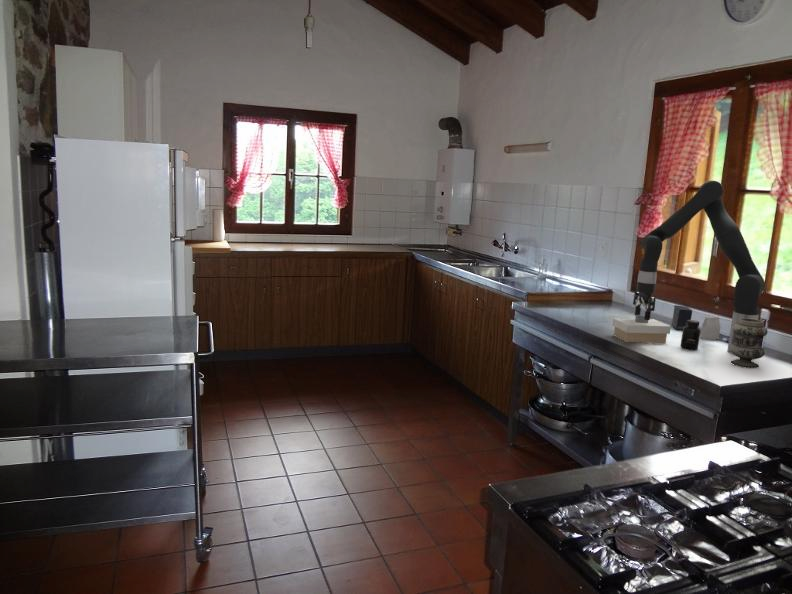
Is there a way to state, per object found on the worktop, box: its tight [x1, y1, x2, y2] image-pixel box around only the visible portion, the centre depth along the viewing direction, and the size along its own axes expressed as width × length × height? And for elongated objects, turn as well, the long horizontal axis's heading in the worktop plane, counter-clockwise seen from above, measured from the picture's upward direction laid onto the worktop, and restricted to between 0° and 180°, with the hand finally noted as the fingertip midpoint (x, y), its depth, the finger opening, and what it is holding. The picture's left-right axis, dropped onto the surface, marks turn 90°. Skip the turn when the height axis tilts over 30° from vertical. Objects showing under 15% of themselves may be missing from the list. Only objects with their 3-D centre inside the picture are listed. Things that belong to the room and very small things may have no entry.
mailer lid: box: [612, 314, 672, 335], centre depth 276 cm, size 14×20×6 cm
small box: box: [670, 304, 693, 331], centre depth 304 cm, size 11×6×10 cm, turn 168°
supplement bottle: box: [680, 319, 701, 351], centre depth 265 cm, size 7×7×12 cm
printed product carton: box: [700, 316, 721, 341], centre depth 285 cm, size 4×7×10 cm, turn 101°
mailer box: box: [613, 326, 668, 344], centre depth 277 cm, size 12×18×7 cm, turn 97°
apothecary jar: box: [729, 318, 768, 369], centre depth 243 cm, size 12×12×18 cm
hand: (641, 317), depth 276 cm, fingers open, 8 cm apart
